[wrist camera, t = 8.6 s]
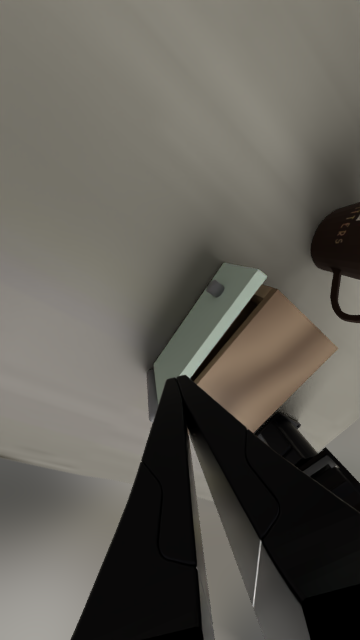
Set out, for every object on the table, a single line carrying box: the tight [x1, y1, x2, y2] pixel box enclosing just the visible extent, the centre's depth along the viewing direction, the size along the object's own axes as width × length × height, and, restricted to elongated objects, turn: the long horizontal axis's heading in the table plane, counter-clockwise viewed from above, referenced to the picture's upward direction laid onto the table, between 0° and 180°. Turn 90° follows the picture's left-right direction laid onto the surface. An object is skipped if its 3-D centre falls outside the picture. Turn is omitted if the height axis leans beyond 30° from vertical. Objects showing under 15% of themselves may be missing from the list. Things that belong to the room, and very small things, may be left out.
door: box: [147, 262, 267, 422], centre depth 17 cm, size 2×15×6 cm, turn 146°
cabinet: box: [187, 285, 338, 434], centre depth 20 cm, size 10×15×6 cm, turn 143°
